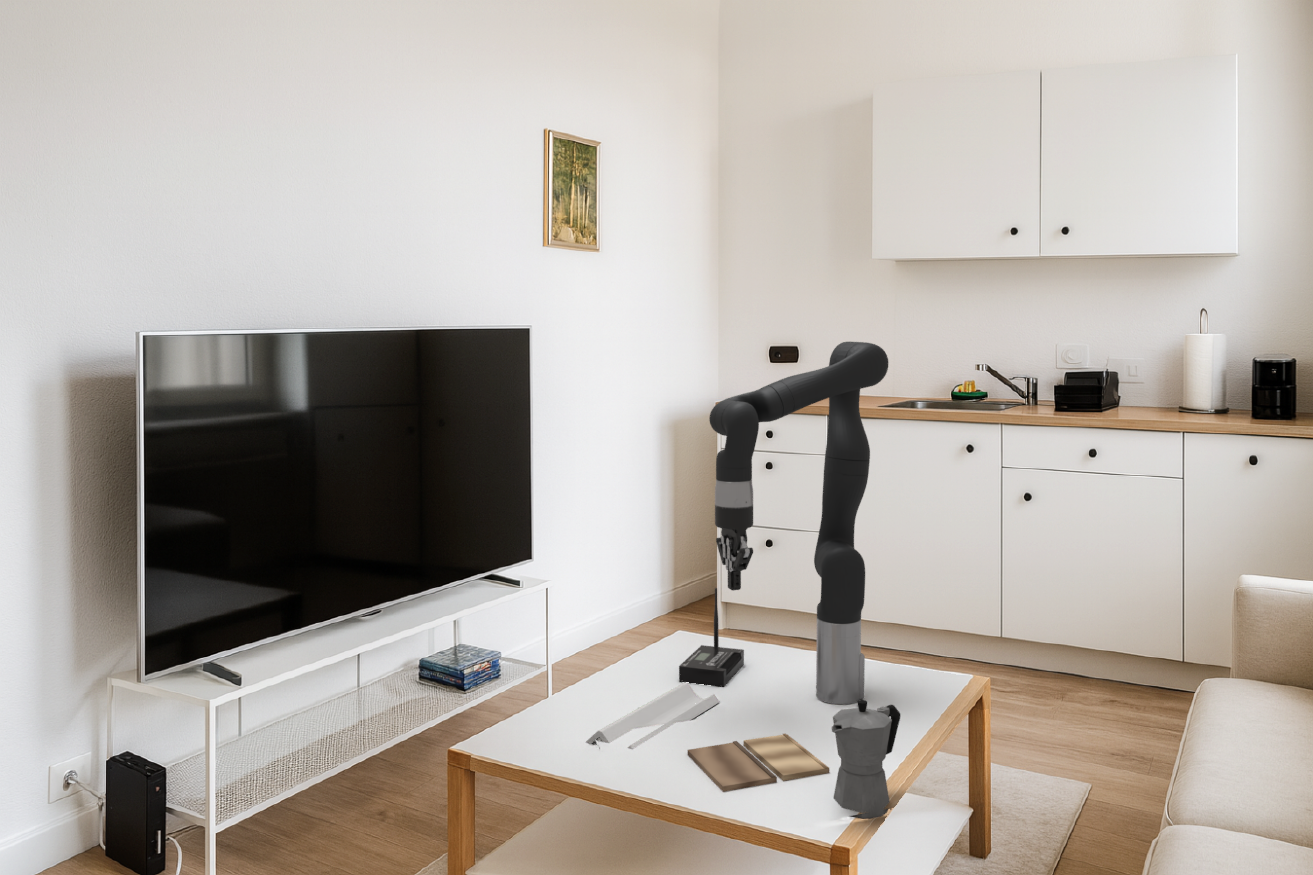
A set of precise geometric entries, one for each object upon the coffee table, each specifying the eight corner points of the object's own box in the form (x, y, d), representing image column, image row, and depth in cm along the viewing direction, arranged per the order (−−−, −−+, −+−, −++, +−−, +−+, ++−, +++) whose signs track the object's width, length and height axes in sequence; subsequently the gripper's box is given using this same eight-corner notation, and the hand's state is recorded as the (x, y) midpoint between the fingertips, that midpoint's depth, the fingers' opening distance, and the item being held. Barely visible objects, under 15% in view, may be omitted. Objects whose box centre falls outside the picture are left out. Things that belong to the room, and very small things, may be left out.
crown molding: (635, 759, 187) (635, 740, 187) (583, 745, 194) (583, 727, 193) (719, 705, 213) (719, 688, 213) (671, 695, 220) (670, 679, 219)
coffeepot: (854, 829, 159) (855, 718, 157) (811, 806, 167) (812, 700, 165) (919, 802, 168) (921, 696, 166) (876, 781, 175) (878, 681, 174)
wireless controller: (731, 689, 222) (731, 612, 220) (671, 682, 227) (671, 607, 225) (755, 661, 240) (755, 590, 239) (699, 655, 245) (699, 585, 244)
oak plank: (743, 750, 189) (743, 739, 188) (786, 744, 192) (786, 733, 192) (782, 786, 174) (783, 774, 174) (829, 778, 177) (829, 766, 177)
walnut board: (737, 751, 188) (737, 740, 188) (776, 788, 173) (776, 775, 173) (687, 760, 185) (687, 748, 185) (723, 797, 170) (723, 785, 170)
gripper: (766, 506, 194) (766, 595, 196) (737, 496, 206) (737, 579, 208) (730, 509, 191) (730, 599, 193) (703, 498, 204) (703, 583, 205)
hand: (734, 589), depth 200 cm, fingers closed
